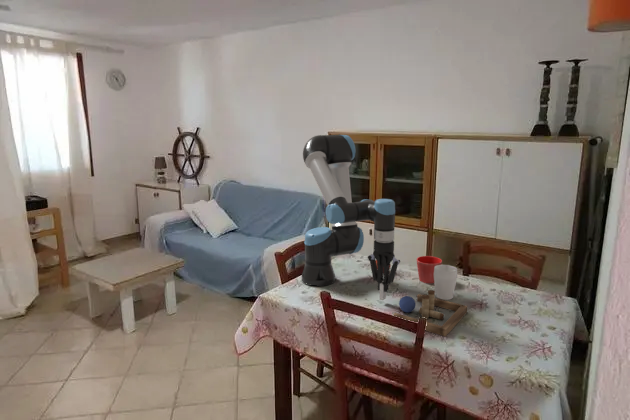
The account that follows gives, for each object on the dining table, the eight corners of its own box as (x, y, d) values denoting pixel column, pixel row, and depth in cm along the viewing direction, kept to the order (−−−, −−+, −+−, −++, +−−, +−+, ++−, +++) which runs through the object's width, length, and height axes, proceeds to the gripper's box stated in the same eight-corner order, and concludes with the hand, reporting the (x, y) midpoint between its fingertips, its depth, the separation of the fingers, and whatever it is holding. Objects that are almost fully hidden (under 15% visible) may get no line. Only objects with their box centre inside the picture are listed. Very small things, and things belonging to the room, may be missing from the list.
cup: (457, 302, 163) (459, 272, 161) (433, 300, 165) (434, 271, 162) (454, 292, 172) (456, 265, 169) (431, 291, 173) (433, 263, 171)
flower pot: (445, 284, 181) (446, 262, 179) (421, 285, 179) (422, 264, 177) (434, 275, 191) (435, 255, 189) (412, 277, 190) (412, 256, 188)
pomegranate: (373, 278, 195) (389, 269, 189) (366, 263, 198) (381, 254, 192) (382, 275, 201) (397, 266, 195) (375, 261, 203) (390, 252, 197)
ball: (413, 315, 151) (399, 315, 155) (420, 306, 155) (407, 306, 159) (407, 301, 150) (393, 301, 154) (414, 292, 154) (401, 293, 158)
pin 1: (420, 318, 150) (421, 296, 148) (423, 316, 152) (424, 293, 150) (426, 320, 148) (427, 297, 146) (429, 317, 150) (430, 295, 148)
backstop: (393, 320, 148) (393, 314, 148) (418, 299, 165) (418, 293, 165) (445, 336, 137) (446, 329, 136) (467, 312, 154) (467, 306, 154)
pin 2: (425, 313, 154) (426, 291, 152) (428, 311, 155) (429, 289, 154) (432, 315, 152) (433, 293, 150) (434, 312, 154) (435, 290, 152)
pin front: (418, 308, 152) (441, 315, 147) (421, 306, 154) (444, 312, 149) (418, 314, 153) (441, 321, 148) (421, 312, 155) (444, 318, 149)
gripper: (364, 239, 158) (363, 297, 163) (395, 245, 151) (393, 306, 156) (373, 235, 164) (372, 291, 169) (404, 240, 157) (402, 299, 161)
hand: (382, 298), depth 162 cm, fingers closed
